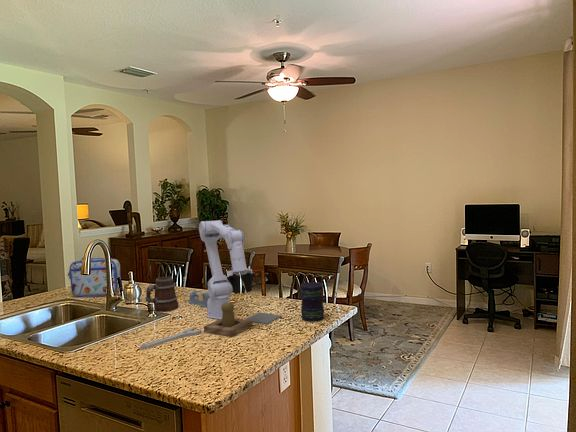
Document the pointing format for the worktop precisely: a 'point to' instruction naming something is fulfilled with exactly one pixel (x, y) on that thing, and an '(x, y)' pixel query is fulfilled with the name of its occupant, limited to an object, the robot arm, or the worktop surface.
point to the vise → (200, 300)
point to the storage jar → (312, 302)
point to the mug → (163, 294)
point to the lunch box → (92, 278)
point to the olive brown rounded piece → (228, 315)
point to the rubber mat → (263, 318)
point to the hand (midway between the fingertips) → (243, 292)
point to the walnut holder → (228, 331)
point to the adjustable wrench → (171, 338)
